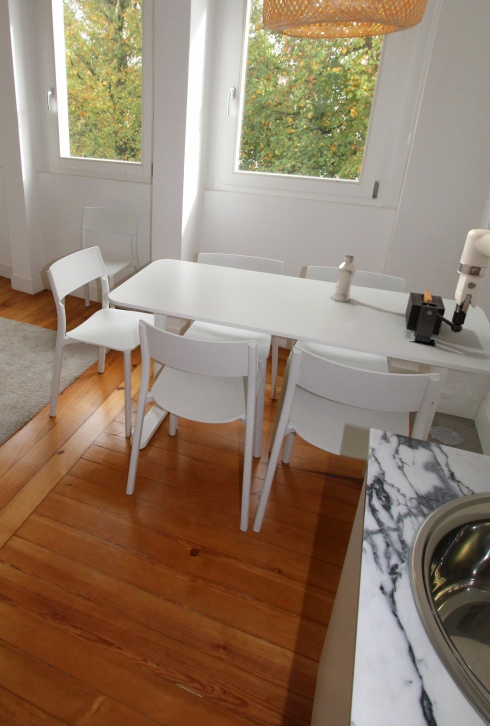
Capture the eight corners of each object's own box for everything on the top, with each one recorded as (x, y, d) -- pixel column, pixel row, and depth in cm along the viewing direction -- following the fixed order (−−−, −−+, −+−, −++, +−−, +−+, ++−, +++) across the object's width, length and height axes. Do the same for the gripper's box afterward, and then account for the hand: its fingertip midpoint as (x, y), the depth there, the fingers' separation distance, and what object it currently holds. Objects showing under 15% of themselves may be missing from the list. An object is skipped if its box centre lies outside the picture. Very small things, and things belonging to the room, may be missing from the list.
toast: (423, 316, 173) (429, 291, 169) (425, 326, 164) (432, 300, 160) (418, 315, 173) (425, 290, 169) (420, 325, 165) (427, 299, 161)
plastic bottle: (351, 304, 191) (362, 258, 183) (338, 307, 189) (349, 260, 180) (340, 298, 197) (350, 253, 188) (327, 300, 194) (337, 254, 186)
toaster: (434, 324, 174) (441, 296, 170) (437, 338, 162) (445, 309, 158) (403, 319, 178) (410, 292, 174) (405, 333, 166) (412, 304, 162)
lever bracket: (433, 340, 161) (442, 303, 156) (435, 349, 154) (445, 311, 149) (407, 335, 164) (415, 299, 159) (407, 344, 157) (417, 306, 152)
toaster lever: (456, 332, 155) (464, 325, 153) (457, 336, 152) (465, 328, 150) (421, 309, 157) (428, 302, 155) (421, 312, 154) (429, 305, 153)
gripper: (491, 277, 138) (474, 334, 145) (482, 264, 150) (467, 317, 157) (462, 274, 141) (446, 329, 147) (455, 261, 153) (441, 313, 160)
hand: (457, 323), depth 152 cm, fingers closed
